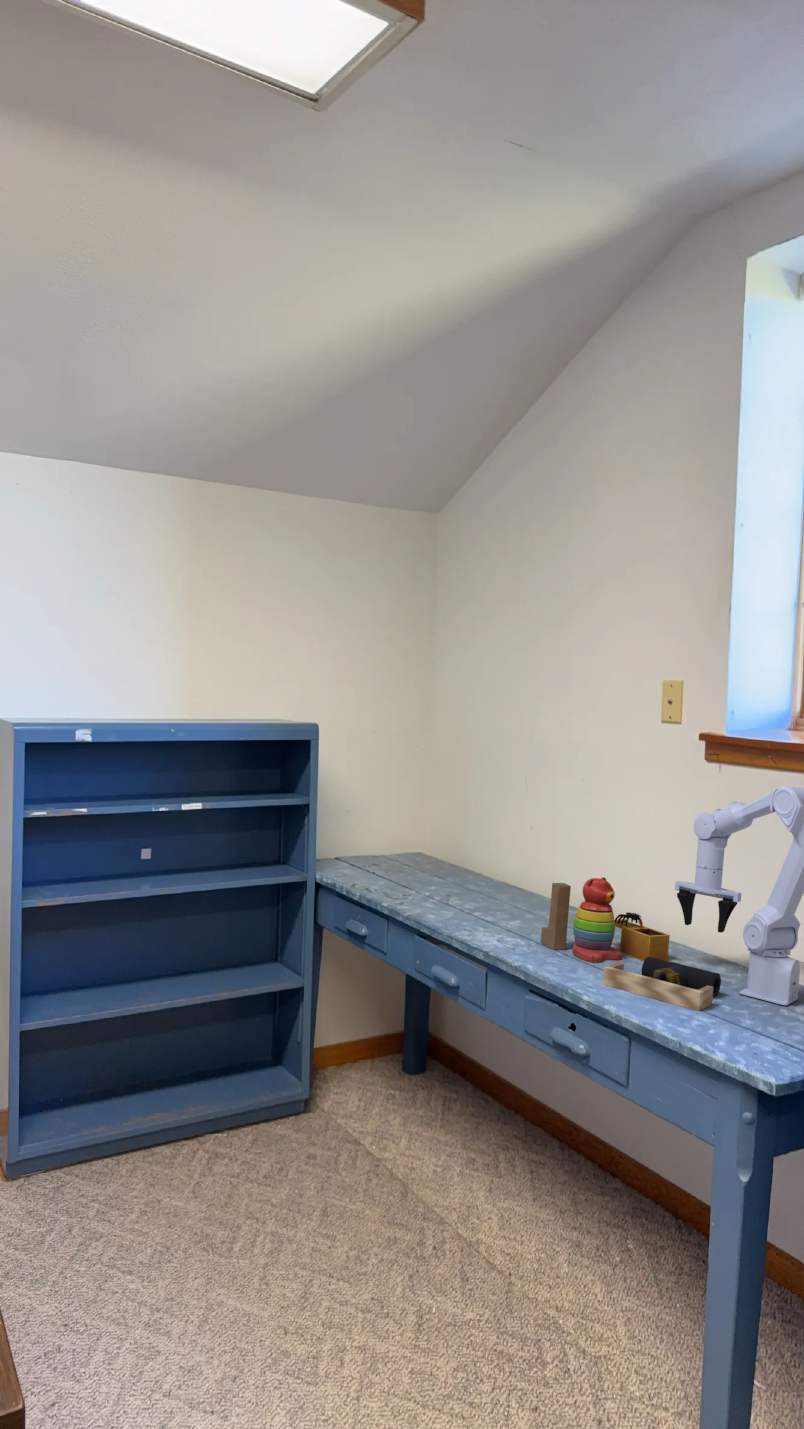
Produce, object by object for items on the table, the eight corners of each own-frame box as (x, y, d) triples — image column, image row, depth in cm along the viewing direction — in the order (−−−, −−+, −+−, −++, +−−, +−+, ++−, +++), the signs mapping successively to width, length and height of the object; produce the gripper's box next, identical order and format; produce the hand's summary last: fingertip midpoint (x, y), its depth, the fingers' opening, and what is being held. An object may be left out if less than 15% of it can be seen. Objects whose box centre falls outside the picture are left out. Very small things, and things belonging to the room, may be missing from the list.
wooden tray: (712, 1004, 185) (713, 987, 185) (698, 1011, 180) (700, 993, 180) (617, 979, 198) (618, 962, 198) (602, 984, 193) (603, 967, 193)
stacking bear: (593, 963, 209) (600, 883, 209) (560, 952, 217) (566, 875, 217) (625, 959, 216) (632, 881, 216) (592, 948, 224) (598, 873, 224)
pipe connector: (699, 979, 184) (629, 961, 194) (697, 1006, 184) (626, 987, 194) (721, 970, 193) (653, 954, 203) (719, 996, 193) (650, 979, 203)
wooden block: (565, 950, 220) (571, 885, 220) (553, 950, 219) (558, 885, 218) (552, 942, 226) (557, 880, 226) (540, 942, 225) (545, 879, 225)
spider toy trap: (622, 944, 230) (625, 906, 230) (668, 961, 217) (671, 920, 217) (602, 945, 227) (605, 907, 227) (647, 962, 214) (650, 922, 214)
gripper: (748, 871, 210) (743, 932, 210) (685, 860, 219) (680, 919, 219) (736, 874, 204) (731, 937, 204) (672, 863, 214) (667, 922, 214)
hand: (704, 928), depth 211 cm, fingers open, 7 cm apart
